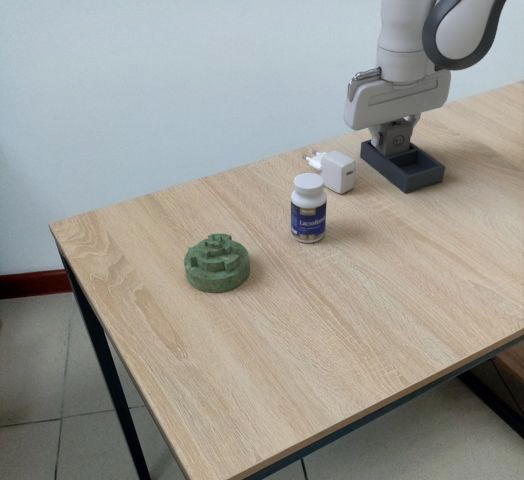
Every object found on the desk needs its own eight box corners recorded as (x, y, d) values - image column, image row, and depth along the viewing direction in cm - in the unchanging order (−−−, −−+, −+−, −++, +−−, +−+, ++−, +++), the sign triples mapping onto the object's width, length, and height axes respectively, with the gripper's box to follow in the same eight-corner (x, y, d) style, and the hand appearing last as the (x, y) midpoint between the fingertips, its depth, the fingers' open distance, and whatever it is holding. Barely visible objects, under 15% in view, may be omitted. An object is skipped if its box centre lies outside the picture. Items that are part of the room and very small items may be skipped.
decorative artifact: (187, 255, 87) (186, 295, 80) (179, 218, 81) (178, 258, 75) (247, 249, 87) (252, 289, 80) (244, 212, 82) (248, 251, 75)
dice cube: (384, 157, 99) (388, 130, 96) (372, 145, 103) (375, 119, 99) (408, 151, 100) (412, 125, 97) (395, 140, 104) (399, 114, 100)
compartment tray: (394, 147, 107) (396, 132, 105) (442, 181, 97) (445, 166, 95) (359, 157, 105) (361, 142, 103) (405, 193, 95) (407, 178, 93)
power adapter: (298, 174, 102) (297, 145, 97) (316, 165, 104) (317, 136, 99) (338, 197, 96) (340, 167, 91) (357, 187, 97) (360, 157, 93)
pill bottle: (300, 248, 86) (300, 193, 79) (285, 229, 90) (283, 176, 82) (331, 238, 88) (334, 183, 80) (315, 220, 91) (316, 167, 84)
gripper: (358, 81, 86) (352, 161, 96) (462, 55, 91) (445, 134, 101) (339, 68, 89) (335, 146, 100) (439, 44, 94) (425, 121, 105)
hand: (391, 140), depth 100 cm, fingers closed on dice cube, 5 cm apart
